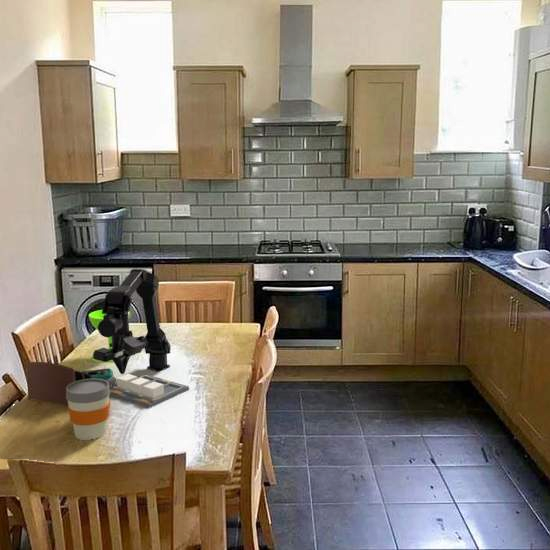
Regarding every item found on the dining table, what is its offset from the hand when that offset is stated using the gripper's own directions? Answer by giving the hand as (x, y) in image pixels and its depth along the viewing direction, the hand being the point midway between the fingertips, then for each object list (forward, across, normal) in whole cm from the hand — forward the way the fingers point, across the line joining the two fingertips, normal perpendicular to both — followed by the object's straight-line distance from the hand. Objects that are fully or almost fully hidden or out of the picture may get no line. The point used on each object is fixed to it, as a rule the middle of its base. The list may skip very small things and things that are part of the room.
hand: (122, 373), depth 203 cm
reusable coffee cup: (+11, -21, -9) cm, 25 cm away
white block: (+9, +8, +7) cm, 14 cm away
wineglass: (+11, +30, +41) cm, 52 cm away
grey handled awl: (+9, +5, +14) cm, 17 cm away
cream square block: (+9, +7, -6) cm, 13 cm away
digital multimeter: (+11, +9, +27) cm, 30 cm away
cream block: (+9, +8, 0) cm, 12 cm away
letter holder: (+11, -9, +21) cm, 25 cm away
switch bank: (+10, +12, 0) cm, 16 cm away
